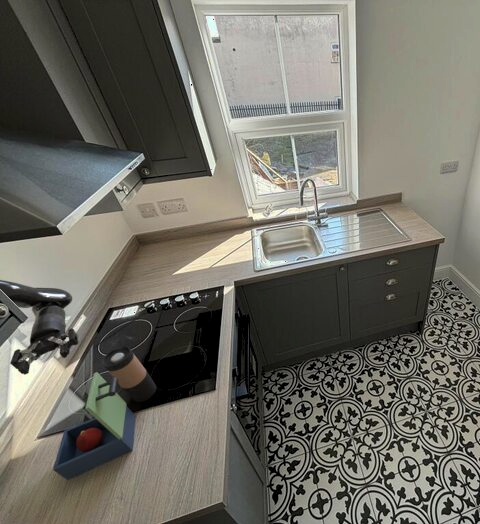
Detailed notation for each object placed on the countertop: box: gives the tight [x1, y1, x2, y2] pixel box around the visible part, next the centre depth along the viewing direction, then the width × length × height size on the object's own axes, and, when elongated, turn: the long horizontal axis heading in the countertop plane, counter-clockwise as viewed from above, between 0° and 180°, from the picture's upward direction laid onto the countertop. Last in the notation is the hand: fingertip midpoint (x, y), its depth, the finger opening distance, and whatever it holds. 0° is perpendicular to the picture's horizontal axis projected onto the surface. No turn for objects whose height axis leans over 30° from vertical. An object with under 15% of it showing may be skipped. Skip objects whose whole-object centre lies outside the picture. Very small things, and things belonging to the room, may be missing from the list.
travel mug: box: [101, 346, 157, 403], centre depth 96 cm, size 8×8×20 cm
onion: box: [76, 428, 103, 452], centre depth 85 cm, size 6×6×8 cm
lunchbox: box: [52, 405, 137, 481], centre depth 86 cm, size 16×12×7 cm
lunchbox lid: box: [85, 371, 127, 439], centre depth 82 cm, size 16×12×5 cm
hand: (44, 363), depth 82 cm, fingers open, 8 cm apart
